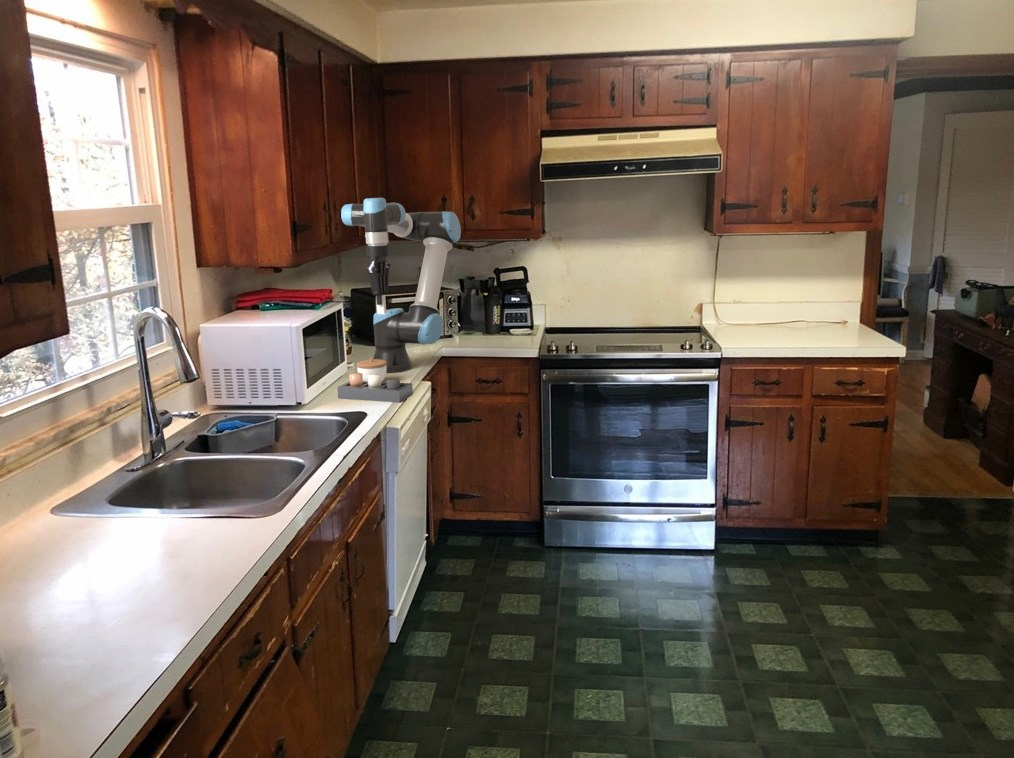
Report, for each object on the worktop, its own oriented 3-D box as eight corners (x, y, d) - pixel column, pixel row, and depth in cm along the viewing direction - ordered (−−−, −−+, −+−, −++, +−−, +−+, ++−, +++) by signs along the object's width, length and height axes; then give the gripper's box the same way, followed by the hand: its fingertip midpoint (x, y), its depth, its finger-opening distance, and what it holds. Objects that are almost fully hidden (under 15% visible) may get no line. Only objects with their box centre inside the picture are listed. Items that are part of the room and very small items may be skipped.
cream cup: (372, 387, 270) (371, 373, 269) (384, 388, 269) (383, 374, 268) (366, 390, 266) (365, 376, 265) (377, 391, 265) (376, 377, 264)
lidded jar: (361, 388, 280) (359, 362, 278) (355, 381, 290) (353, 356, 287) (391, 384, 284) (389, 359, 282) (384, 378, 294) (382, 353, 291)
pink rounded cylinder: (354, 386, 272) (353, 372, 271) (365, 387, 271) (364, 373, 270) (347, 389, 268) (346, 375, 267) (359, 390, 267) (358, 376, 266)
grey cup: (391, 393, 268) (390, 379, 267) (402, 394, 267) (402, 379, 266) (385, 396, 264) (384, 382, 263) (397, 397, 263) (396, 382, 262)
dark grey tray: (352, 391, 276) (352, 379, 275) (412, 394, 269) (412, 383, 268) (338, 398, 267) (337, 386, 266) (399, 402, 260) (399, 390, 259)
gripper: (376, 243, 275) (380, 310, 281) (358, 246, 263) (362, 316, 269) (395, 243, 273) (399, 311, 278) (378, 246, 261) (382, 317, 266)
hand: (381, 313), depth 273 cm, fingers closed
